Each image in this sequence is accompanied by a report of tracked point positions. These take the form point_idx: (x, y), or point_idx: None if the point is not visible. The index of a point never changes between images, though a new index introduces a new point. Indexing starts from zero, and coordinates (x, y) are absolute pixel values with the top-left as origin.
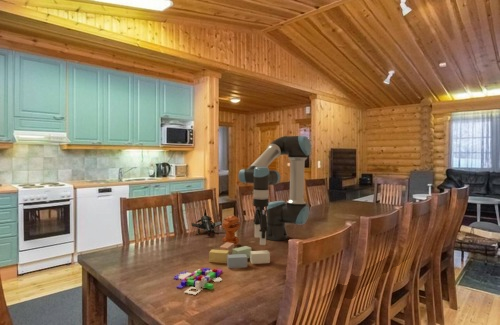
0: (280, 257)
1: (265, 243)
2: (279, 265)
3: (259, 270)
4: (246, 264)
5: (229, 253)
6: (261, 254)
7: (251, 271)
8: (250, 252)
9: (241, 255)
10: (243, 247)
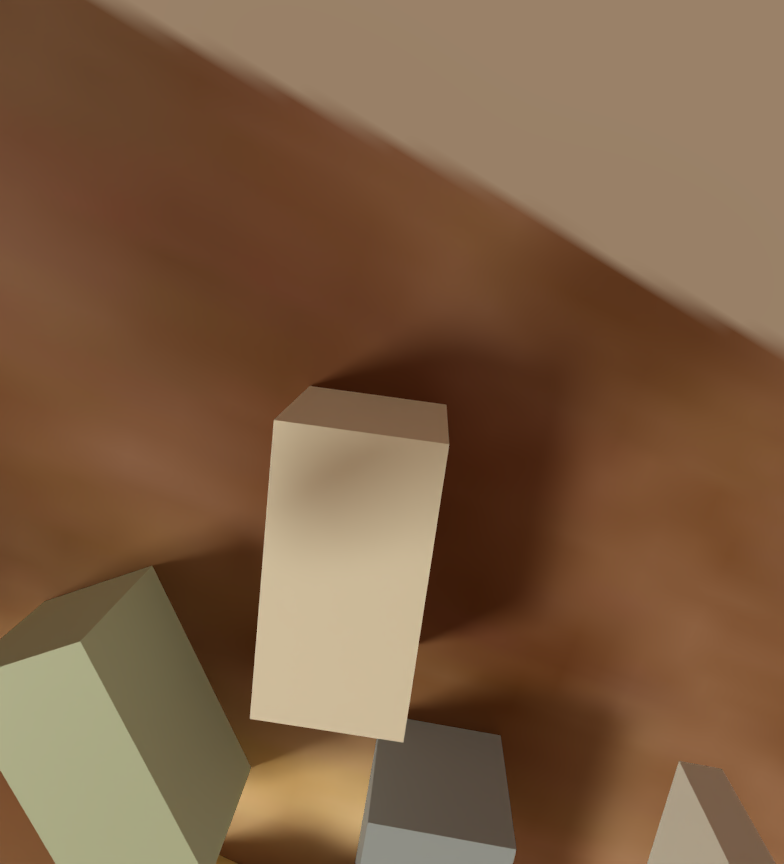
0: (257, 126)
1: (734, 802)
2: (596, 304)
3: (664, 639)
4: (501, 769)
5: (20, 816)
6: (426, 588)
7: (655, 735)
8: (276, 713)
9: None
10: (32, 749)
